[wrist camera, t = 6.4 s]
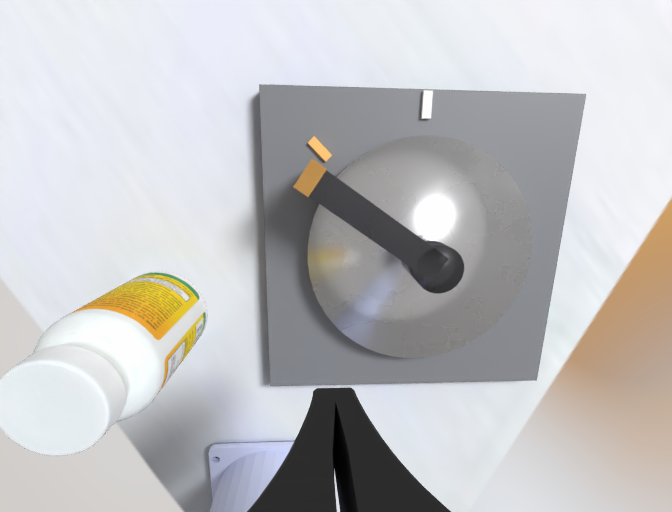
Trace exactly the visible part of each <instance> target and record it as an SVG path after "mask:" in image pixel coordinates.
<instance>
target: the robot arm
mask: <svg viewBox="0 0 672 512" xmlns="http://www.w3.org/2000/svg"><path fill="white" fill-rule="evenodd" d="M208 457H209V468H210V479H211V490H212V501H213V502H212V506H211V509H210V512H337V510H336V498H335V484H334V468H335V475H336V483H337V490H338V497H339V504H340V512H451V511H450V510H448V509H447V508H446V507H445V506H444V505H443V504H442V503H441V502H439V501H438V500H437V499H436V498H435V497H434V496H433V495H432V494H431V493H430V492H429V491H428V490H426V489H425V488H424V487H423V486H422V485H421V484H420V483H419V482H418V480H417V479H416V478H415V477H414V476H413V475H412V474H411V473H410V472H409V471H408V470H407V469H406V467H405V466H404V465H403V464H402V463H401V462H400V461H399V459H398V458H397V457H396V456H395V454H394V453H393V452H392V451H391V449H390V448H389V447H388V445H387V444H386V443H385V441H384V440H383V439H382V437H381V436H380V434H379V433H378V432H377V430H376V428H375V427H374V425H373V424H372V422H371V421H370V419H369V418H368V416H367V414H366V413H365V411H364V409H363V407H362V406H361V404H360V402H359V400H358V398H357V396H356V394H355V391H354V390H353V389H352V388H317V389H316V390H314V391H313V397H312V401H311V405H310V408H309V410H308V413H307V416H306V418H305V420H304V423H303V425H302V427H301V429H300V432H299V434H298V436H297V438H296V439H295V441H290V442H258V443H226V444H213V445H212V446H211V447H210V449H209V452H208ZM215 457H218V458H215Z"/></svg>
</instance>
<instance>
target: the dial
mask: <svg viewBox="0 0 672 512" xmlns="http://www.w3.org/2000/svg"><path fill="white" fill-rule="evenodd" d="M293 187H294V188H295V189H297V190H298V191H300V192H301V193H303V194H304V195H306V196H307V197H310V198H312V199H313V200H315V201H316V202H318V203H319V205H318V207H317V210H316V212H315V214H314V217H313V221H312V225H311V228H310V234H309V241H308V268H309V276H310V280H311V283H312V287H313V290H314V293H315V295H316V297H317V300H318V302H319V304H320V306H321V307H322V309H323V311H324V312H325V314H326V315H327V317H328V318H329V319H330V320H331V322H332V323H333V324H334V325H335V326H336V327H337V328H338V329H339V330H340V331H341V332H342V333H343V334H344V335H346V336H347V337H349V338H350V339H351V340H353V341H354V342H356V343H357V344H359V345H361V346H363V347H365V348H367V349H369V350H372V351H375V352H377V353H380V354H384V355H389V356H393V357H402V358H422V357H430V356H436V355H440V354H444V353H447V352H450V351H453V350H455V349H458V348H460V347H462V346H464V345H466V344H468V343H470V342H472V341H473V340H475V339H476V338H478V337H479V336H481V335H482V334H484V333H485V332H486V331H487V330H489V329H490V328H491V327H492V326H493V325H494V324H495V323H496V322H497V321H498V320H499V319H500V318H501V317H502V316H503V315H504V314H505V312H506V311H507V310H508V308H509V307H510V306H511V304H512V303H513V301H514V300H515V298H516V296H517V295H518V293H519V291H520V289H521V287H522V284H523V282H524V280H525V277H526V274H527V270H528V267H529V263H530V257H531V251H532V228H531V220H530V216H529V212H528V207H527V205H526V202H525V200H524V197H523V195H522V193H521V191H520V189H519V187H518V186H517V184H516V182H515V180H514V179H513V178H512V177H511V175H510V174H509V173H508V172H507V170H506V169H505V168H504V167H503V166H502V165H501V164H500V163H499V162H497V161H496V160H495V159H494V158H493V157H491V156H490V155H488V154H487V153H485V152H484V151H482V150H480V149H478V148H477V147H475V146H473V145H471V144H468V143H465V142H462V141H459V140H456V139H451V138H445V137H440V136H418V137H409V138H404V139H400V140H396V141H392V142H390V143H387V144H385V145H382V146H380V147H377V148H375V149H373V150H371V151H369V152H368V153H366V154H364V155H362V156H361V157H359V158H358V159H356V160H355V161H354V162H352V163H351V164H350V165H349V166H347V167H346V168H345V169H344V170H343V171H342V172H341V173H340V174H339V175H338V176H337V177H335V176H334V175H333V174H331V173H330V172H328V171H327V169H326V168H325V167H323V166H322V165H321V164H319V163H318V162H317V161H315V160H314V159H311V161H310V162H309V164H308V165H307V167H306V168H305V170H304V171H303V173H302V174H301V176H300V177H299V179H298V180H297V182H296V183H295V185H294V186H293Z"/></svg>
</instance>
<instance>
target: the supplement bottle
mask: <svg viewBox="0 0 672 512" xmlns="http://www.w3.org/2000/svg"><path fill="white" fill-rule="evenodd" d="M207 317H208V314H207V306H206V302H205V300H204V297H203V296H202V294H201V292H200V291H199V290H198V288H197V287H195V286H194V285H193V284H192V283H191V282H190V281H188V280H187V279H185V278H183V277H181V276H179V275H177V274H174V273H170V272H164V271H155V272H149V273H145V274H142V275H140V276H138V277H136V278H134V279H132V280H130V281H129V282H127V283H125V284H123V285H121V286H119V287H117V288H116V289H114V290H112V291H110V292H108V293H107V294H105V295H103V296H101V297H99V298H97V299H96V300H94V301H92V302H90V303H88V304H87V305H85V306H83V307H81V308H79V309H78V310H76V311H74V312H72V313H70V314H68V315H67V316H65V317H63V318H61V319H60V320H58V321H57V322H55V323H54V324H53V325H51V326H50V327H49V328H48V329H47V330H46V331H45V333H44V334H43V335H42V336H41V338H40V339H39V341H38V343H37V345H36V347H35V350H34V353H33V354H32V355H30V356H29V357H27V358H26V359H25V360H23V361H22V362H20V363H19V364H17V365H16V366H14V367H13V368H12V369H10V370H9V371H8V372H6V373H5V374H4V375H3V376H2V377H1V379H0V428H1V430H2V431H3V432H4V433H5V434H6V435H7V436H8V437H9V438H10V439H11V440H13V441H14V442H15V443H17V444H18V445H20V446H22V447H24V448H25V449H28V450H30V451H32V452H35V453H39V454H44V455H48V456H66V455H72V454H76V453H79V452H82V451H84V450H86V449H88V448H90V447H91V446H93V445H94V444H95V443H96V442H98V441H99V440H100V438H102V436H103V435H104V434H105V433H106V432H107V431H108V429H109V428H110V427H111V426H112V425H113V424H114V423H115V422H117V421H121V420H124V419H127V418H129V417H131V416H133V415H135V414H137V413H138V412H140V411H141V410H143V409H144V408H145V407H146V406H147V405H149V404H150V403H151V401H152V400H153V399H154V398H155V397H156V395H157V394H158V393H159V392H160V390H161V389H162V388H163V386H164V385H165V384H166V382H167V381H168V380H169V378H170V377H171V376H172V374H173V373H174V372H175V370H176V369H177V367H178V366H179V365H180V363H181V362H182V361H183V359H184V358H185V357H186V355H187V354H188V353H189V351H190V350H191V349H192V347H193V346H194V344H195V343H196V342H197V340H198V339H199V337H200V336H201V334H202V333H203V331H204V329H205V326H206V323H207Z"/></svg>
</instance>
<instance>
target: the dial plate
mask: <svg viewBox="0 0 672 512" xmlns="http://www.w3.org/2000/svg"><path fill="white" fill-rule="evenodd" d="M259 91H260V119H261V146H262V174H263V201H264V229H265V256H266V284H267V311H268V339H269V366H270V386H301V385H346V384H392V383H437V382H483V381H529V380H537V376H538V370H539V364H540V358H541V353H542V347H543V341H544V335H545V329H546V324H547V318H548V312H549V306H550V301H551V295H552V289H553V283H554V277H555V272H556V266H557V260H558V254H559V249H560V243H561V237H562V231H563V225H564V220H565V214H566V208H567V202H568V197H569V191H570V185H571V179H572V173H573V168H574V162H575V156H576V150H577V145H578V139H579V133H580V127H581V121H582V116H583V110H584V104H585V98H586V94H568V93H534V92H500V91H465V90H431V89H397V88H362V87H328V86H294V85H260V84H259ZM418 136H440V137H445V138H451V139H456V140H459V141H462V142H465V143H468V144H471V145H473V146H475V147H477V148H478V149H480V150H482V151H484V152H485V153H487V154H488V155H490V156H491V157H493V158H494V159H495V160H496V161H497V162H499V163H500V164H501V165H502V166H503V167H504V168H505V169H506V170H507V172H508V173H509V174H510V175H511V177H512V178H513V179H514V180H515V182H516V184H517V186H518V187H519V189H520V191H521V193H522V195H523V197H524V200H525V202H526V205H527V207H528V212H529V216H530V220H531V228H532V251H531V257H530V263H529V267H528V270H527V274H526V277H525V280H524V282H523V284H522V287H521V289H520V291H519V293H518V295H517V296H516V298H515V300H514V301H513V303H512V304H511V306H510V307H509V308H508V310H507V311H506V312H505V314H504V315H503V316H502V317H501V318H500V319H499V320H498V321H497V322H496V323H495V324H494V325H493V326H492V327H491V328H490V329H489V330H487V331H486V332H485V333H484V334H482V335H481V336H479V337H478V338H476V339H475V340H473V341H472V342H470V343H468V344H466V345H464V346H462V347H460V348H458V349H455V350H453V351H450V352H447V353H444V354H440V355H436V356H430V357H422V358H402V357H393V356H389V355H384V354H380V353H377V352H375V351H372V350H369V349H367V348H365V347H363V346H361V345H359V344H357V343H356V342H354V341H353V340H351V339H350V338H349V337H347V336H346V335H344V334H343V333H342V332H341V331H340V330H339V329H338V328H337V327H336V326H335V325H334V324H333V323H332V322H331V320H330V319H329V318H328V317H327V315H326V314H325V312H324V311H323V309H322V307H321V306H320V304H319V302H318V300H317V297H316V295H315V293H314V290H313V287H312V283H311V280H310V276H309V268H308V241H309V234H310V228H311V225H312V221H313V217H314V214H315V212H316V210H317V207H318V205H319V203H318V202H316V201H315V200H313V199H312V198H310V197H307V196H306V195H304V194H303V193H301V192H300V191H298V190H297V189H295V188H294V187H293V186H294V185H295V183H296V182H297V180H298V179H299V177H300V176H301V174H302V173H303V171H304V170H305V168H306V167H307V165H308V164H309V162H310V161H311V159H314V160H315V161H317V162H318V163H319V164H321V165H322V166H323V167H325V168H326V169H327V171H328V172H330V173H331V174H333V175H334V176H335V177H337V176H338V175H339V174H340V173H341V172H342V171H343V170H344V169H345V168H346V167H347V166H349V165H350V164H351V163H352V162H354V161H355V160H356V159H358V158H359V157H361V156H362V155H364V154H366V153H368V152H369V151H371V150H373V149H375V148H377V147H380V146H382V145H385V144H387V143H390V142H392V141H396V140H400V139H404V138H409V137H418Z"/></svg>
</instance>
